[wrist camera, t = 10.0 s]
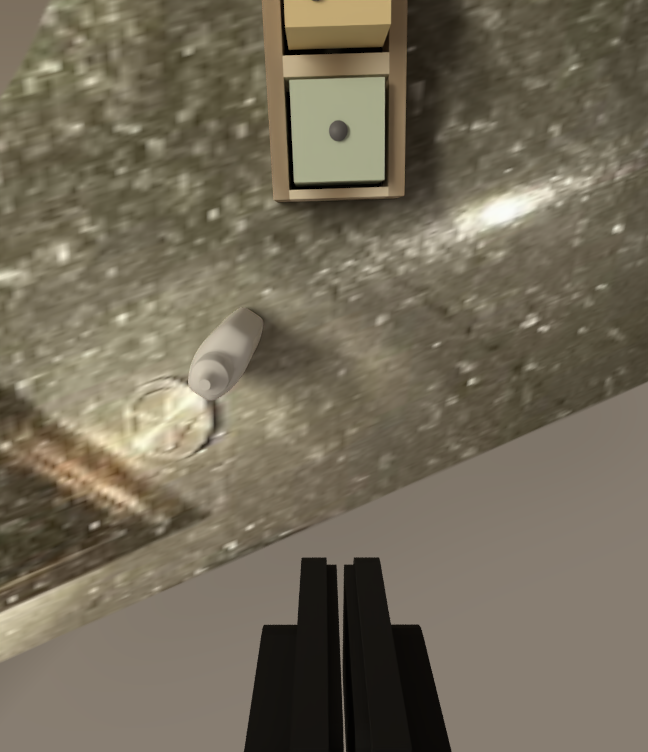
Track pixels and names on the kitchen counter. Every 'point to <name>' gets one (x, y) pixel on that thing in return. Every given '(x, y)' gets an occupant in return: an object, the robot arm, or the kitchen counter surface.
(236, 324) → the eye dropper bottle
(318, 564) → the robot arm
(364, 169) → the tile one sage
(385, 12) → the tile two ochre
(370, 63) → the tray
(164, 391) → the kitchen counter surface
